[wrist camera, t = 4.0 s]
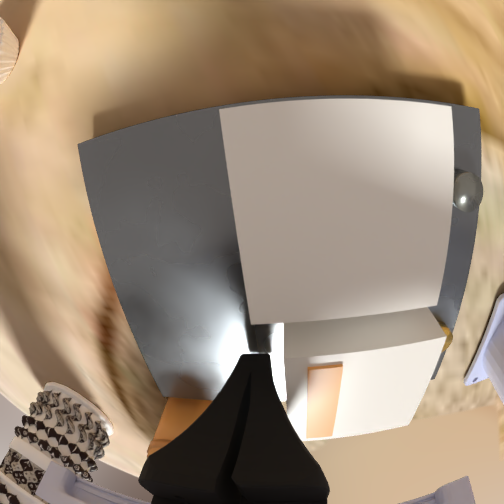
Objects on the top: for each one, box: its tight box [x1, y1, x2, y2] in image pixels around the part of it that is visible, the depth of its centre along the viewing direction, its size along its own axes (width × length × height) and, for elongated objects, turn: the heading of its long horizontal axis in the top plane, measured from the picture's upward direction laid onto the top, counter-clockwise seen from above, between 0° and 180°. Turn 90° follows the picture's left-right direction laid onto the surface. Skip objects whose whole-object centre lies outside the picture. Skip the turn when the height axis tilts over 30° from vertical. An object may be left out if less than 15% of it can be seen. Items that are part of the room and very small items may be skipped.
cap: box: [147, 397, 212, 458], centre depth 16 cm, size 4×4×5 cm
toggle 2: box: [283, 307, 447, 441], centre depth 11 cm, size 6×6×3 cm
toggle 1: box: [219, 99, 454, 325], centre depth 8 cm, size 6×6×3 cm
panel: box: [78, 95, 483, 401], centre depth 12 cm, size 17×15×2 cm
